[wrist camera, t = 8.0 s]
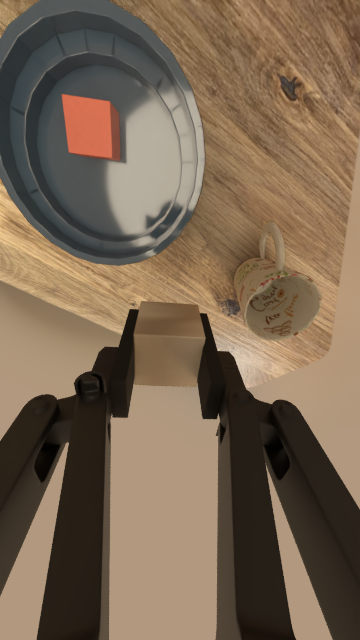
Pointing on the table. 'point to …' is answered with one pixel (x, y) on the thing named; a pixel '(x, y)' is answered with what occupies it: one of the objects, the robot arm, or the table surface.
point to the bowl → (134, 123)
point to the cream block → (168, 344)
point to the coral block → (92, 127)
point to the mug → (275, 293)
